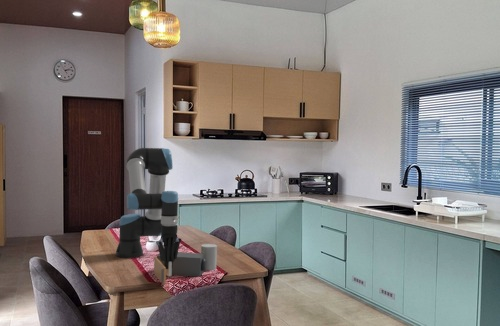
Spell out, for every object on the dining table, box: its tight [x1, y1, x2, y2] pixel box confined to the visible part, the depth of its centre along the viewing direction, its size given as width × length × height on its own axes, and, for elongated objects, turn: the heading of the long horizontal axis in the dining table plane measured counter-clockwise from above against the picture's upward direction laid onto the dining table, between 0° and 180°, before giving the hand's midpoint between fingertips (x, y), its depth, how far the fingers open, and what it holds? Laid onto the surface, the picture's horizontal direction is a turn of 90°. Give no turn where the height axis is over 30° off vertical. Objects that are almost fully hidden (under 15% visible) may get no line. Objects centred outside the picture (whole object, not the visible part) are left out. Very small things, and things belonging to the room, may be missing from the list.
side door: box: [153, 256, 167, 286], centre depth 221 cm, size 22×2×8 cm, turn 23°
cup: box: [200, 243, 218, 271], centre depth 245 cm, size 8×8×12 cm
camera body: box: [156, 251, 207, 277], centre depth 235 cm, size 24×10×10 cm, turn 84°
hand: (168, 275), depth 217 cm, fingers closed
